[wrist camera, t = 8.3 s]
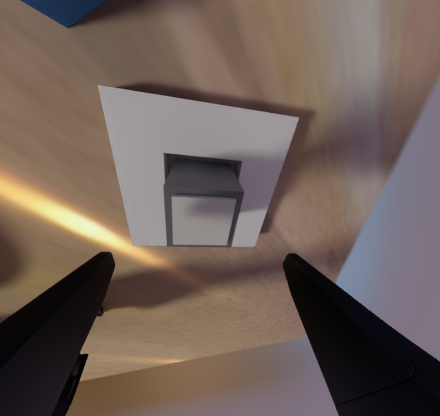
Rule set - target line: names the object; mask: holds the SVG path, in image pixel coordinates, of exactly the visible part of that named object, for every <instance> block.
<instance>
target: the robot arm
mask: <svg viewBox="0 0 440 416" xmlns="http://www.w3.org/2000/svg"><path fill="white" fill-rule="evenodd" d="M114 268H115V262H114V259H113V256H112V253H111V252H100V253H98V254H97V255H95V256H94V257H92V258H91V259H90V260H88V261H87V262H85V263H84V264H83V265H81V266H80V267H78V268H77V269H76V270H74V271H73V272H71V273H70V274H69V275H67V276H66V277H64V278H63V279H62V280H60V281H59V282H57V283H56V284H55V285H53V286H52V287H50V288H49V289H48V290H46V291H45V292H43V293H42V294H40V295H39V296H38V297H36V298H35V299H33V300H32V301H31V302H29V303H28V304H26V305H25V306H24V307H22V308H21V309H19V310H18V311H17V312H15V313H14V314H12V315H11V316H10V317H8V318H7V319H5V320H4V321H3V322H1V323H0V416H65V415H66V413H67V411H68V409H69V407H70V405H71V403H72V400H73V398H74V395H75V392H76V389H77V386H78V383H79V381H80V378H81V375H82V372H83V369H84V366H85V363H86V360H87V357H88V354H79V353H80V351H81V349H82V347H83V345H84V342H85V340H86V338H87V336H88V334H89V331H90V329H91V327H92V325H93V323H94V321H95V318H96V316H102V315H103V313H104V312H103V310H102V308H101V305H102V303H103V300H104V298H105V295H106V292H107V289H108V286H109V283H110V280H111V277H112V274H113V271H114ZM283 269H284V272H285V276H286V279H287V282H288V286H289V289H290V292H291V295H292V298H293V301H294V303H295V306H296V308H297V311H298V313H299V316H300V318H301V321H302V323H303V326H304V328H305V331H306V334H307V336H308V338H309V341H310V344H311V346H312V349H313V351H314V354H315V356H316V359H317V361H318V364H319V366H320V369H321V371H322V374H323V376H324V378H325V381H326V384H327V386H328V389H329V392H330V394H331V396H332V399H333V401H334V404H335V407H336V410H337V412H338V415H339V416H440V361H438V360H437V359H436V358H434V357H433V356H431V355H430V354H428V353H427V352H426V351H424V350H422V349H421V348H420V347H418V346H417V345H416V344H414V343H413V342H411V341H410V340H409V339H407V338H406V337H404V336H403V335H401V334H400V333H399V332H397V331H396V330H395V329H393V328H392V327H391V326H389V325H388V324H387V323H385V322H384V321H383V320H381V319H380V318H379V317H377V316H376V315H375V314H374V313H372V312H371V311H370V310H368V309H367V308H366V307H365V306H363V305H362V304H361V303H359V302H358V301H357V300H355V299H354V298H353V297H352V296H350V295H349V294H348V293H346V292H345V291H344V290H343V289H341V288H340V287H339V286H337V285H336V284H335V283H333V282H332V281H331V280H330V279H328V278H327V277H326V276H324V275H323V274H322V273H321V272H319V271H318V270H317V269H315V268H314V267H313V266H311V265H310V264H309V263H308V262H306V261H305V260H304V259H302V258H301V257H300V256H299V255H297V254H295V253H289V254H287V256H286V258H285V260H284V262H283Z"/></svg>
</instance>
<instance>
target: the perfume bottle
mask: <svg viewBox="0 0 440 416" xmlns="http://www.w3.org/2000/svg"><path fill="white" fill-rule="evenodd" d="M21 1H22V2H24V3H26V4H28V5H29V6H31V7H33V8H34V9H36V10H38V11H39V12H41V13H43V14H44V15H46V16H48V17H50V18H51V19H53V20H55V21H56V22H58V23H60V24H61V25H63V26H65V27H67V28H69V27H70V26H72V25H73V24H74V23H76V22H77V21H78V20H80V19H81V18H83V17H84V16H85V15H87V14H88V13H90V12H91V11H92V10H94V9H95V8H97V7H98V6H99V5H101V4H102V3H104V2H105V1H106V0H21Z"/></svg>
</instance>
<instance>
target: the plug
mask: <svg viewBox="0 0 440 416" xmlns="http://www.w3.org/2000/svg"><path fill="white" fill-rule="evenodd" d="M163 190H164V206H165V223H166V239H167V246H177V247H231V246H232V242H233V238H234V234H235V229H236V225H237V221H238V217H239V213H240V208H241V204H242V200H243V196H244V190H243V188H242V186H241V184H240V183H239V181H238V179H237V177H236V175H235V173H234V171H233V169H232V167H231V165H230V164H229V163H219V162H210V161H200V160H190V159H180V158H176V159H175V161H174V163H173V165H172V168H171V170H170V172H169V174H168V177H167V179H166V181H165V183H164V185H163Z"/></svg>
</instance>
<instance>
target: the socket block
mask: <svg viewBox="0 0 440 416" xmlns="http://www.w3.org/2000/svg"><path fill="white" fill-rule="evenodd" d="M98 89H99V93H100V98H101V102H102V107H103V112H104V116H105V121H106V125H107V130H108V134H109V139H110V144H111V148H112V153H113V157H114V162H115V166H116V171H117V176H118V180H119V185H120V189H121V194H122V198H123V203H124V208H125V212H126V217H127V221H128V226H129V230H130V235H131V240H132V244H133V245H152V246H167V239H166V223H165V206H164V190H163V185H164V183H165V181H166V179H167V177H168V174H169V172H170V170H171V168H172V165H173V163H174V161H175V159H176V158H180V159H190V160H200V161H210V162H219V163H229V164H230V165H231V167H232V169H233V171H234V173H235V175H236V177H237V179H238V181H239V183H240V184H241V186H242V188H243V190H244V196H243V200H242V204H241V208H240V213H239V217H238V221H237V225H236V229H235V234H234V238H233V242H232V246H231V247H255V244H256V241H257V239H258V236H259V233H260V230H261V227H262V224H263V221H264V218H265V215H266V213H267V210H268V207H269V204H270V201H271V198H272V195H273V192H274V189H275V187H276V184H277V181H278V178H279V175H280V172H281V169H282V166H283V163H284V161H285V158H286V155H287V152H288V149H289V146H290V143H291V140H292V137H293V135H294V132H295V129H296V126H297V123H298V120H299V117H293V116H287V115H280V114H274V113H268V112H262V111H256V110H249V109H243V108H237V107H231V106H225V105H218V104H212V103H206V102H200V101H194V100H187V99H181V98H175V97H169V96H163V95H156V94H150V93H144V92H138V91H132V90H125V89H119V88H113V87H107V86H101V85H98Z"/></svg>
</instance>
